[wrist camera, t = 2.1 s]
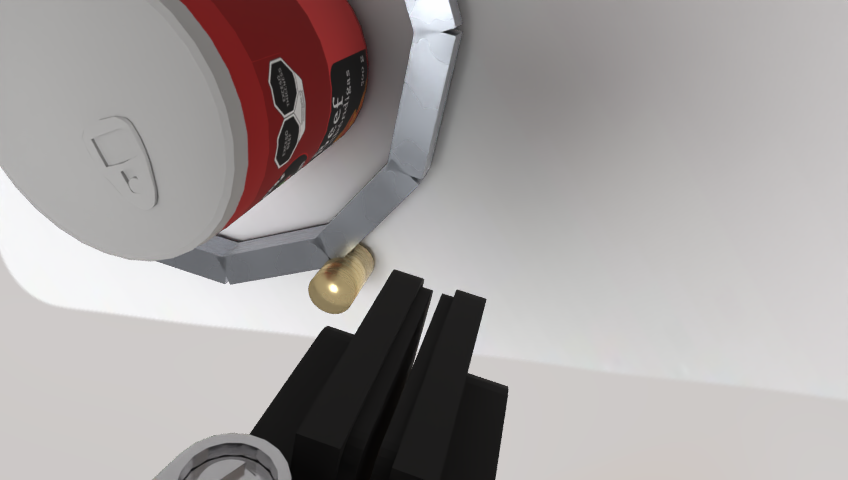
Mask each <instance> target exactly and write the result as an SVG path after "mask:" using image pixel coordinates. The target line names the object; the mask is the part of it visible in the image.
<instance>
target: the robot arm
mask: <svg viewBox="0 0 848 480" xmlns="http://www.w3.org/2000/svg"><path fill="white" fill-rule="evenodd" d="M423 283H424V279H423V278H420V277H417V276H413V275H410V274H407V273H404V272H401V271H398V270H393V271H392V273H391V275H390V276H389V278H388V280H387V281H386V283H385V285H384V286H383V288H382V290H381V291H380V293H379V295H378V296H377V298H376V300H375V301H374V303H373V305H372V306H371V308H370V310H369V311H368V313H367V315H366V316H365V318H364V320H363V322H362V323H361V325H360V327H359V328H358V330H357V332H356V333H355V335H353V334H351V333H348V332H345V331H342V330H339V329H336V328H333V327H330V326H327V327H325V328H324V329H323V330H322V331H321V332H320V334H319V335H318V337H317V338H316V339H315V341H314V342H313V344H312V345H311V347H310V348H309V350H308V351H307V353H306V354H305V355H304V357H303V358H302V360H301V361H300V363H299V364H298V365H297V367H296V368H295V370H294V371H293V372H292V374H291V375H290V377H289V378H288V380H287V381H286V383H285V384H284V385H283V387H282V388H281V390H280V391H279V393H278V394H277V396H276V397H275V398H274V400H273V401H272V403H271V404H270V406H269V407H268V408H267V410H266V411H265V413H264V414H263V416H262V417H261V419H260V420H259V421H258V423H257V424H256V426H255V427H254V429H253V430H252V431H251V433H250V434H238V433H228V434H221V435H214V436H211V437H209V438H206V439H203V440H201V441H198V442H196V443H194V444H193V445H191V446H190V447H189V448H187V449H186V450H184V451H183V452H182V453H180V454H179V455H178V456H177V457H176V458H175V459H174V460H173V461H172V462H170V463H169V464H168V466H166V467H165V468H164V469H163V470H162V471H161V472H160V473H159V474H158V475H157V476H156V477H155V478H153V480H495V477H496V471H497V464H498V458H499V451H500V444H501V438H502V431H503V424H504V418H505V411H506V404H507V398H508V386H505V385H502V384H499V383H496V382H493V381H490V380H487V379H484V378H481V377H478V376H475V375H472V374H469V373H468V369H469V365H470V361H471V357H472V353H473V349H474V346H475V342H476V338H477V334H478V330H479V326H480V322H481V319H482V315H483V311H484V307H485V303H486V299H485V298H482V297H479V296H476V295H473V294H469V293H466V292H463V291H460V290H456V292H455V295H454V297H452V296H449V295H445V294H442V295H441V298H440V300H439V303H438V305H437V308H436V310H435V313H434V315H433V317H432V320H431V322H430V325H429V327H428V330H427V332H426V335H425V337H424V340H423V342H422V345H421V347H420V350H419V352H418V355H417V358H416V360H415V362H414V359H415V355H416V352H417V348H418V344H419V341H420V337H421V334H422V330H423V326H424V323H425V319H426V316H427V312H428V308H429V305H430V301H431V297H432V293H433V290H430V289H427V288H424V287H423ZM413 363H414V365H413ZM412 366H413V367H412Z"/></svg>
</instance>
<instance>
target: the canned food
mask: <svg viewBox="0 0 848 480" xmlns="http://www.w3.org/2000/svg"><path fill="white" fill-rule="evenodd" d="M367 80H368V55H367V46H366V42H365V39H364V35H363V32H362V28H361V26H360V23H359V21H358V19H357V17H356V15H355V13H354V11H353V9H352V7H351V6H350V4H349V3H348V1H347V0H0V166H1V168H2V169H3V170H4V172H5V173H6V175H7V176H8V177H9V179H10V180H11V181H12V183H13V184H14V185H15V187H16V188H17V189H18V190H19V191H20V192H21V193H22V194H23V195H24V196H25V197H26V199H27V200H28V201H29V202H30V203H31V204H32V205H33V206H34V207H35V208H36V209H37V210H38V211H39V212H41V213H42V214H43V215H44V216H45V217H46V218H48V219H49V220H50V221H51V222H52V223H54V224H55V225H56V226H57V227H58V228H60V229H62V230H63V231H65V232H66V233H68V234H69V235H71V236H72V237H74V238H76V239H77V240H79V241H80V242H82V243H84V244H86V245H88V246H91V247H93V248H95V249H97V250H99V251H102V252H104V253H107V254H110V255H114V256H118V257H121V258H125V259H129V260H141V261H157V260H164V259H171V258H175V257H177V256H179V255H182V254H184V253H187V252H189V251H191V250H193V249H194V248H196V247H197V246H200V245H202V244H204V243H206V242H207V241H209V240H210V239H211V238H212V237H214V236H215V235H216V234H218V233H219V232H220V231H222V230H223V229H225V228H227V227H228V226H229V225H230V224H232V223H233V222H234V221H236V220H237V219H238V218H239V217H241V216H242V215H243V214H245V213H246V212H247V211H248V210H250V209H251V208H252V207H253V206H255V205H256V204H257V203H258V202H260V201H261V200H262V199H263V198H265V197H266V196H267V195H269V194H270V193H271V192H272V191H274V190H275V189H276V188H277V187H279V186H280V185H281V184H282V183H284V182H285V181H286V180H287V179H289V178H290V177H291V176H293V175H294V174H295V173H296V172H298V171H299V170H300V169H301V168H303V167H304V166H305V165H306V164H308V163H309V162H310V161H311V160H313V159H314V158H315V157H316V156H318V155H319V154H320V153H322V152H323V151H324V150H325V149H327V148H328V147H329V146H330V145H332V144H333V143H334V142H335V141H337V140H338V139H339V138H340V137H342V136H343V135H344V134H345V133H346V131H347V130H348V129H349V128H350V126H351V125H352V124H353V123H354V121H355V119H356V117H357V115H358V113H359V111H360V109H361V107H362V103H363V100H364V96H365V92H366V88H367Z"/></svg>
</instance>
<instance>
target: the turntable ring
mask: <svg viewBox="0 0 848 480" xmlns="http://www.w3.org/2000/svg"><path fill="white" fill-rule="evenodd" d="M405 3H406V7H407V10H408V14H409V17H410V21H411V24H412V28H413V31H414V35H413V40H412V45H411V50H410V55H409V60H408V65H407V70H406V75H405V80H404V85H403V90H402V95H401V100H400V105H399V110H398V115H397V120H396V125H395V130H394V135H393V140H392V145H391V150H390V155H389V160H388V163H387V164H386V165H385V166H384V167H383V168H382V169H381V170H380V171H379V172H378V173H377V174H376V175H375V176H374V177H373V178H372V179H371V180H370V181H369V182H368V183H367V184H366V185H365V186H364V187H363V189H362V190H361V191H360V192H359V193H358V194H357V195H356V196H355V197H354V198H353V199H352V200H351V201H350V202H349V203H348V204H347V205H346V206H345V207H344V208H343V209H342V210H341V211H340V212H339V213H338V214H337V215H336V216H335V217H334V219H333V220H332V221H331V222H330V223H329V224H327V225H322V226H317V227H312V228H307V229H302V230H297V231H293V232H288V233H283V234H278V235H273V236H268V237H263V238H258V239H253V240H248V241H244V242H239V243H238V242H234V241H231V240H228V239H225V238H222V237H219V236H216V235H215V236H214V237H212V238H211V239H210V240H209V241H207V242H206V243H204V244H202V245H200V246H197V247H196V248H194V249H193V250H191V251H189V252H187V253H184V254H182V255H179V256H177V257H175V258H171V259H164V260H157V262H160V263H163V264H166V265H169V266H172V267H175V268H178V269H181V270H184V271H187V272H190V273H193V274H196V275H199V276H202V277H205V278H208V279H211V280H214V281H217V282H220V283H223V284H226V283H227V282H228V281H229V283H230V285H231V284H236V283H242V282H248V281H254V280H259V279H265V278H271V277H276V276H282V275H288V274H293V273H299V272H305V271H311V270H316V269H320V270H319V271H318V273H317V274H316V275H315V276H314V278H313V279H312V280H311V282H310V284H309V288H308V291H309V296H310V298H311V300H312V302H313V303H314V304H315V305H316V306H317V307H318V308H319V309H321V310H322V311H324V312H327V313H331V314H339V313H343V312H345V311H346V310H347V309H348V308H349V307H350V306H351V304H352V303H353V301H354V299H355V298H356V296H357V295H358V293H359V292H360V290H361V288H362V287H363V285H364V284H365V282H366V281H367V279H368V277H369V276H370V274H371V273H372V271H373V268H374V262H373V258H372V256H371V254H370V253H369V251H368V250H367V249H366V248H364V247H363V246H361V245H359V244H358V243H359V242H361V241H362V240H363V239H364V238H365V237H366V236H367V235H368V234H369V233H370V232H371V231H372V230H373V229H374V228H375V227H376V226H377V225H378V224H379V223H380V222H381V221H382V220H383V219H384V218H385V217H386V216H387V215H388V214H389V213H391V212H392V211H393V210H394V209H395V208H396V207H397V206H398V205H399V204H400V203H401V202H402V201H403V200H404V199H405V198H406V197H407V196H408V195H409V194H410V193H411V192H412V191H413V190H414V189H415V188H416V187H417V186H418V185H419V184H420V183H421V181H422V180H423V178H424V177H425V175H426V174H427V171H428V170H429V168H430V166H431V162H432V158H433V154H434V150H435V145H436V141H437V137H438V133H439V129H440V125H441V120H442V116H443V112H444V108H445V104H446V100H447V96H448V91H449V87H450V83H451V79H452V75H453V71H454V66H455V62H456V58H457V54H458V50H459V46H460V41H461V37H462V33H463V31H460V30H456V29H453V28H456V27H458V26H459V25H461V24H463V22H462V18H461V14H460V10H459V6H458V3H457V0H405Z"/></svg>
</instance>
